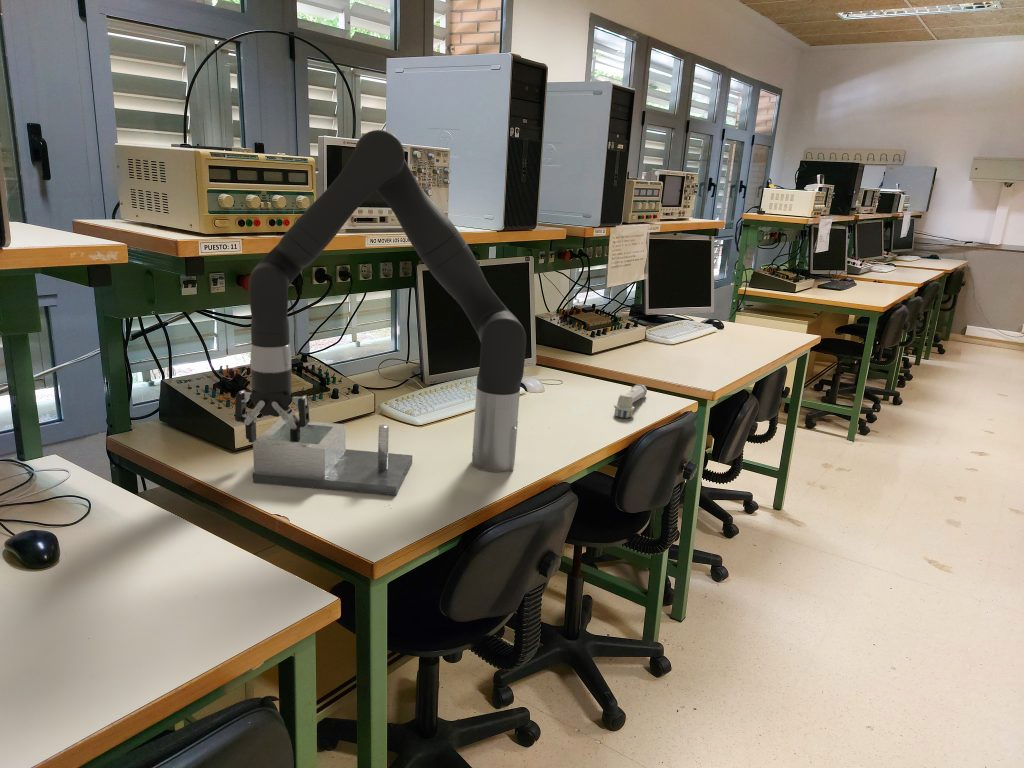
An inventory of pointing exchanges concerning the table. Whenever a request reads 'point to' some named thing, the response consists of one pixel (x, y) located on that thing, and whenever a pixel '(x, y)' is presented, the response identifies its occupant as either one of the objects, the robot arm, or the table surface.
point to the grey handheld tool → (629, 401)
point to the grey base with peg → (354, 472)
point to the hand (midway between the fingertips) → (273, 443)
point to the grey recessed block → (300, 449)
